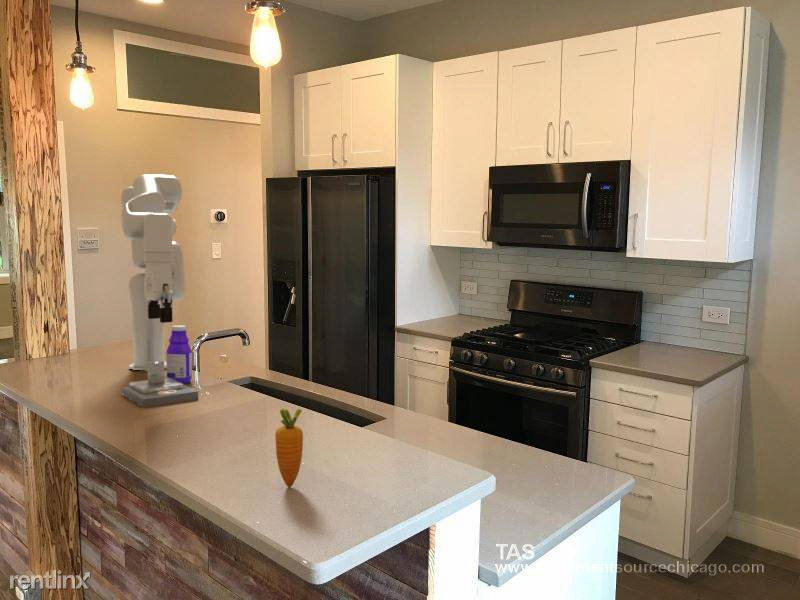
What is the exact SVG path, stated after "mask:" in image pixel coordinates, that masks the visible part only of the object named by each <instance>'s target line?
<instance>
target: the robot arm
mask: <svg viewBox="0 0 800 600" xmlns="http://www.w3.org/2000/svg"><path fill="white" fill-rule="evenodd" d="M182 196H183V187H182V184H181V181H180V180H179V178H178V177H176V176H174V175H170V174H169V175H167V174H149V173H148V174H146V173H145V174H141V175H138V176H137V177H135V178H134V180H133V181H132V186H127V187H125V188H124V189H122V191H121V195H120V197H121V198H120V200H121V206H122V209H121V214H120V218H121V220H120V221H121V227H122V232H123V234H124V236H125V237H126V238H127V239H129V240H131V244H130V245H131V258H132V264H133V265H134V267H135V268H136V269H138V270H144V272H143V273H136V274H134V275H132V276H131V277H130V278H129V280H128V291H129V296H130V301H131V302H130V303H131V313H132V314H131V315H132V339H133V340H132V341H133V343H132V344H133V363H130V364H129V365H128V369H129V368H130V369H133V370H141V371H140V372H143V371H142V370H145V371H144V372H148V371H147V370H148V366H147V363H148V362H150V361H164V370H165V369H166V370H167V361H165V338H164V337H165V336H164V334H165V331H164V330H165V329H164V327H165V326H164V323H172V322H173V302H179V301H182V300H183V298H184V297H185V295H186V279H185V265H184V264H185V263H184V253H183V249H182V246H181V245H180V243H178V242H176V241H175V240H174V239H173V237H174V236H175V235H176V234H177V222H176V219H174V217H173V216H172V214H170V213H174V212H176V211H177V210H178V208H179V205H180V203H181V200H182ZM173 240H174V241H173ZM130 369H129V370H130ZM133 370H132V371H133Z"/></svg>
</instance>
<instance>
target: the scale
mask: <svg viewBox="0 0 800 600" xmlns="http://www.w3.org/2000/svg"><path fill="white" fill-rule="evenodd" d="M175 381H176V380H175ZM177 382H178V381H177ZM179 383H180V382H179ZM181 384H182V383H181ZM122 394H124V395H125V396H127V397H128V398H130V399H131V401H132V400H133V401H134V402H133V401H132V402H133V403H135V402H136V403H137V405H138V404H139V405H138V406H139V407H141V408H142V409H144V408H149V407H150V408H151V407H155V406H161V405H162V406H163V405H169V404H175V403H181V402H182V403H183V402H187V401H188V402H189V401H193V400H194V401H196V400H198V399H199V390H196V389H195V388H192V387H190V386H188V385H186V384H183V388H179V389H172V390H161V391H158V392H151V393H145V394H143V393H141V392H140V391H138V390H136V389H134V388H133V387H131V386H130V385H128V386H122V387H121V395H122ZM125 396H124V397H125ZM127 397H126V398H127ZM128 398H127V399H128ZM130 399H129V400H130ZM136 403H135V404H136Z"/></svg>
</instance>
